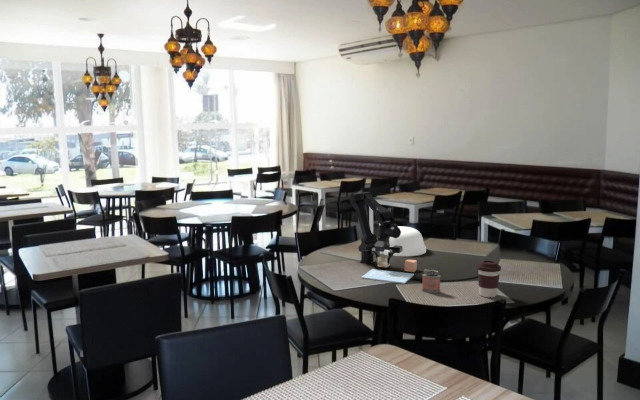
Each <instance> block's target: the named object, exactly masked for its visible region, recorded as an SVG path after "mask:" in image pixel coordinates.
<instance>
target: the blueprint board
mask: <svg viewBox="0 0 640 400" xmlns="http://www.w3.org/2000/svg"><path fill="white" fill-rule="evenodd" d="M414 276H415V274H414V273H412V272H411V273H409V272H401V271H394V270H393V271H392V270H382V269H377V268H372V269H371V270H369V271H367V272H366V273H365V274H363V275H362V276H361V277H360V278H361V279H363V278H364V279H365V280H372V281H380V282H389V283H394V284H395V283H396V284H402V285H403V284H405V285H406V283H407V282H409V280H411V278H413V277H414Z"/></svg>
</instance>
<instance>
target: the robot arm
mask: <svg viewBox="0 0 640 400" xmlns="http://www.w3.org/2000/svg"><path fill="white" fill-rule="evenodd" d="M349 202H350V204H351V206H352V207H353V209H354V210H355V212H356V215H357V219H358V223H359V226H360V229H361V233H362V234H361V239H360V242H361V243H360V245H359V246H358V248H357V249H358V251H359V252H361V253H360V257H361V259H360V261H359V263H362V264H368V265H369V264H370V265H371V264H373V263H374V262H375V261H376V262H378V257H379V256H380V255H381V254H380V251H381V252H384V250H389V251H390V252H389V253H388V255H387V256H388V265H389V264H391V260H392V258H393V257H394V256H393V254H394V253H400V252H402V251H403V248H402V246H398V245H395V246H393V247H389V246H390V244H389V239H390V237H393V238H398V237H399V236H400V234H401V231H400V228H398V224H396V220H395V218H394V216H393V214H392V212H391V210H389V209H388V208H387V207H383V206H382V205H381V204H380V203H379V202H378V201H377V200H376V198H375V197H374V196H373V195H372V193H371V192H370V191H366V192H365V191H364V192H358V193H352V194H350V196H349ZM366 205H367V206H368V207H369V208H370V209H371V211H373V213H374V218H376V221H378V222H376V223H375V226H378V236H377V234H376V233H373V232H372V229H371V226H370V223H369V219H368V214H367V212H366V208H365V207H366ZM375 259H376V260H375ZM389 266H390V265H389Z"/></svg>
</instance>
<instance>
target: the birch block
mask: <svg viewBox="0 0 640 400" xmlns="http://www.w3.org/2000/svg"><path fill="white" fill-rule="evenodd" d="M390 264H391V263H390ZM390 264H389V265H388V255H385V254H380V256H379V257H378V261H377V267H379V268H389V266H390Z"/></svg>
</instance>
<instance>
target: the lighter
mask: <svg viewBox="0 0 640 400" xmlns="http://www.w3.org/2000/svg"><path fill="white" fill-rule="evenodd" d="M421 275H422V288H421V291H422V292H423V293H432V294H434V293H435V294H440V293H441V277H442V276H441V275H440V274H439V271H438V270H434V269H431V270H430V269H424V270H423V273H422V274H421Z"/></svg>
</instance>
